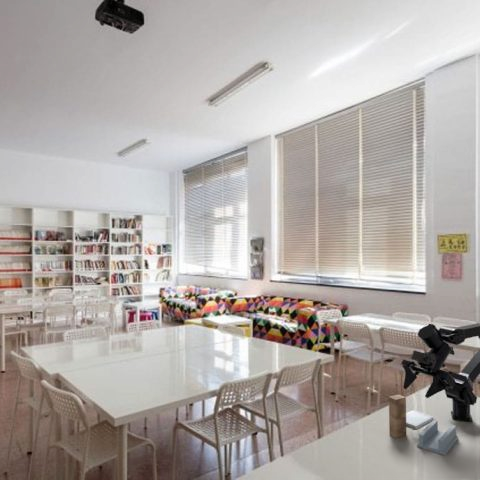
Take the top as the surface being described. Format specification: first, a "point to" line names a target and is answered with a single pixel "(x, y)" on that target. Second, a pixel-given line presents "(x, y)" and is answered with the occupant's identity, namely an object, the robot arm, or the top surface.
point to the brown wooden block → (397, 416)
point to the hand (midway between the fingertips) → (414, 392)
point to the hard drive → (417, 419)
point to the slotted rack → (437, 438)
